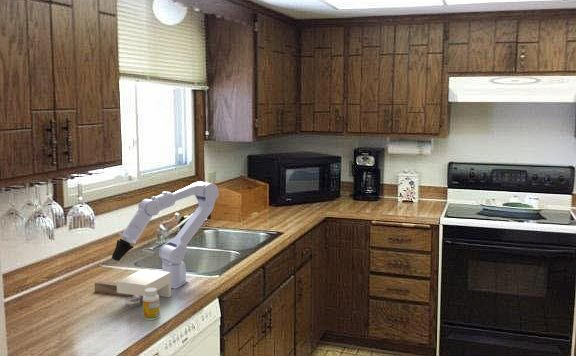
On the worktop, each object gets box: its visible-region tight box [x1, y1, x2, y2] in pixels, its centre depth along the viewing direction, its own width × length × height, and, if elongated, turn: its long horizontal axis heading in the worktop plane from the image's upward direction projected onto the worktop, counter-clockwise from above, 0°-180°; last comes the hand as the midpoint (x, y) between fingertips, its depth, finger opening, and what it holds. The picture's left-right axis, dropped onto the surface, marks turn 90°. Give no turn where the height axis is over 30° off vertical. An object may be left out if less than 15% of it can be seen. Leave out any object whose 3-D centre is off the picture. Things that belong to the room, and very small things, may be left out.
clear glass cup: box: [124, 296, 141, 307], centre depth 206 cm, size 5×5×2 cm
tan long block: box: [94, 280, 133, 297], centre depth 218 cm, size 3×16×4 cm, turn 71°
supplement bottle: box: [142, 288, 161, 321], centre depth 192 cm, size 5×5×10 cm
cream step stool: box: [116, 268, 172, 298], centre depth 208 cm, size 16×12×9 cm
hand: (114, 259), depth 210 cm, fingers open, 7 cm apart
